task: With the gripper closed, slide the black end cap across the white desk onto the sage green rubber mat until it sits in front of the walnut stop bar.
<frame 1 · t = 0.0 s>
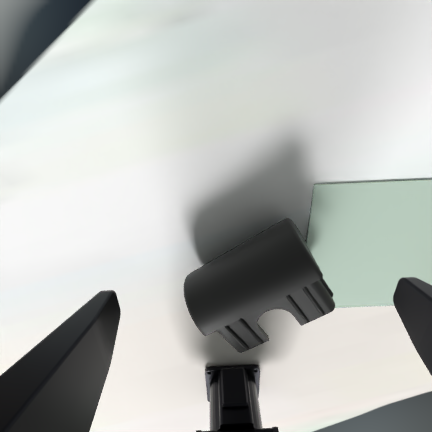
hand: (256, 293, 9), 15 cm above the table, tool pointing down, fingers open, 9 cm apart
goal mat: (379, 251, 26), on the table
end cap: (251, 255, 26), on the table, touching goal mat
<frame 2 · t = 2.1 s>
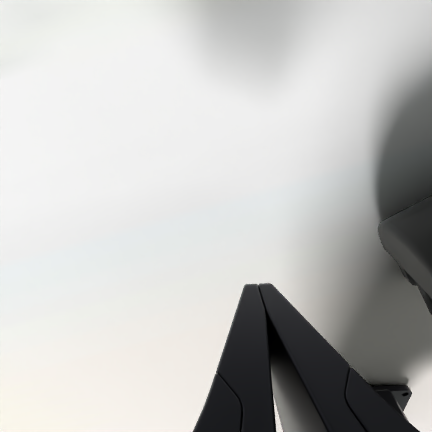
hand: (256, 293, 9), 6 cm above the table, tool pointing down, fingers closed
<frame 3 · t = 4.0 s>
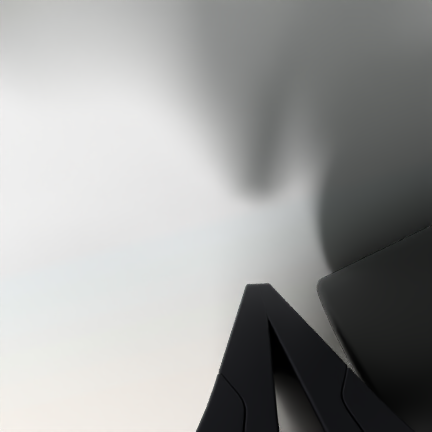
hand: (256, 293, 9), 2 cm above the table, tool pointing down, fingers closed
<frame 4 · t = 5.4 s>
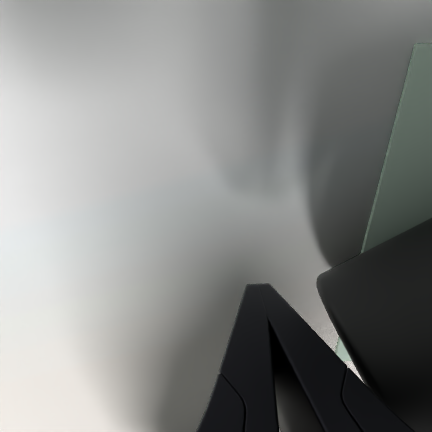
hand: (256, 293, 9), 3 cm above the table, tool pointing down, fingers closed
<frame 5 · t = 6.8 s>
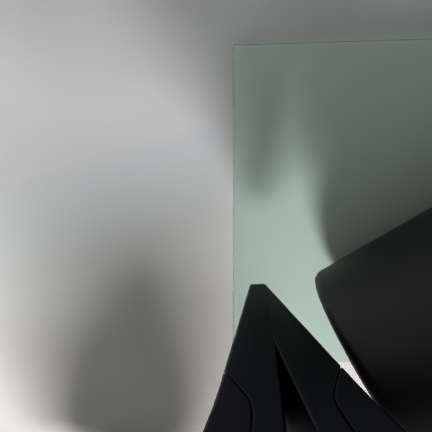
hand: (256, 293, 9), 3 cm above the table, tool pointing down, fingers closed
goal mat: (409, 245, 11), on the table
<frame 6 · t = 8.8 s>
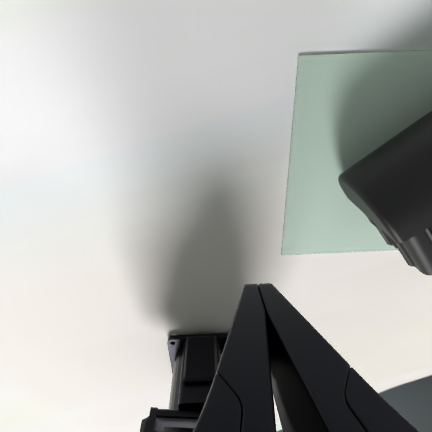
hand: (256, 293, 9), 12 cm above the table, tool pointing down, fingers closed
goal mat: (389, 167, 19), on the table
end cap: (409, 153, 19), resting on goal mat
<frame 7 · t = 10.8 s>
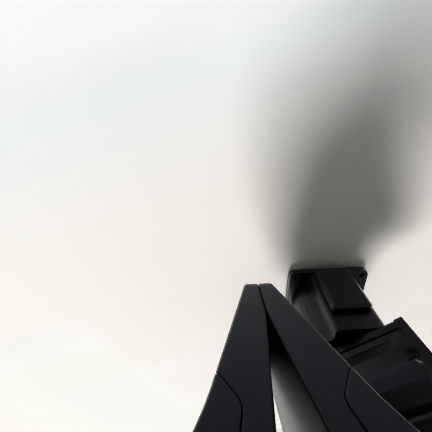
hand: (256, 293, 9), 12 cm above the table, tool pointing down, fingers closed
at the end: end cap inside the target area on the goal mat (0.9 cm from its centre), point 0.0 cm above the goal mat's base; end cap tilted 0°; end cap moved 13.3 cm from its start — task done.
